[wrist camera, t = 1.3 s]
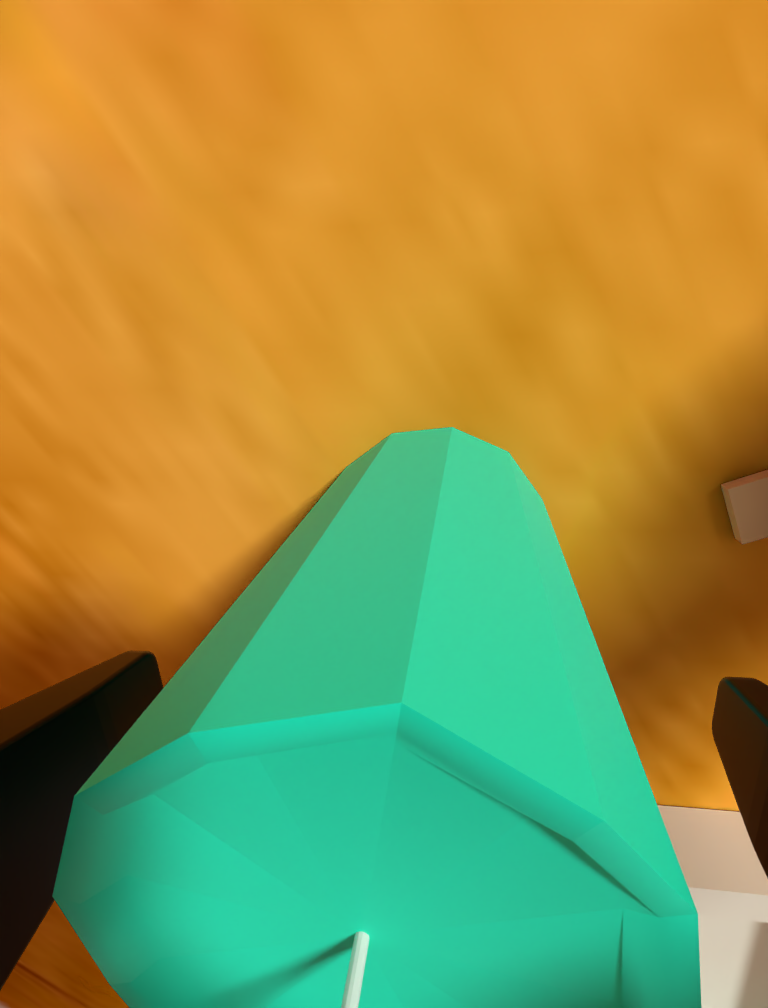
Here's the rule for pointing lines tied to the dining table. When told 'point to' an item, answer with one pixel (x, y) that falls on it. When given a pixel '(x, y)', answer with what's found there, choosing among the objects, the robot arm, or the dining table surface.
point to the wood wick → (748, 506)
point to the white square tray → (724, 903)
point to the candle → (388, 776)
